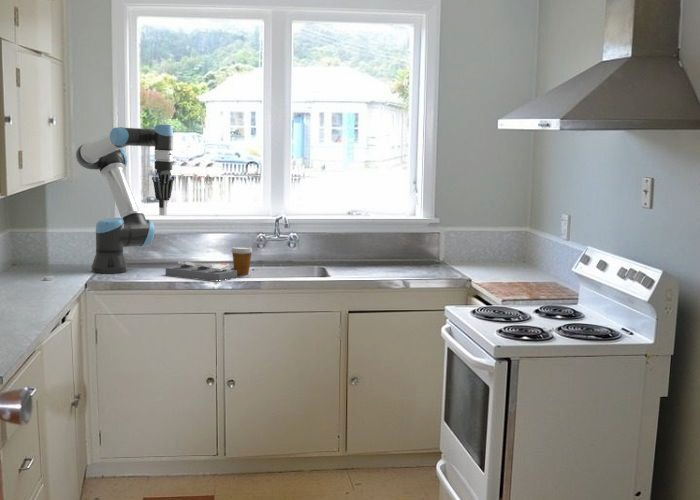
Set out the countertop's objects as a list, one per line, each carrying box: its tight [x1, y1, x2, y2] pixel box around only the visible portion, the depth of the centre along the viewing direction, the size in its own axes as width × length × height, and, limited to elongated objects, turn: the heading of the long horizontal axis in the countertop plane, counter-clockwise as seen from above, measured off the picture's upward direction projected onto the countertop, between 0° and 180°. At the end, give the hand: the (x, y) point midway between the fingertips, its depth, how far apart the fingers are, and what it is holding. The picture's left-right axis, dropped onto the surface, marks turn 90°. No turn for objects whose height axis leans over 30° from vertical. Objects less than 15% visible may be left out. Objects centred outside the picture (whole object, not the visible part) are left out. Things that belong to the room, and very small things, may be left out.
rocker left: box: [177, 260, 196, 266], centre depth 376 cm, size 4×7×1 cm, turn 155°
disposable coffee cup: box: [230, 246, 253, 276], centre depth 382 cm, size 10×10×12 cm
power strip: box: [164, 264, 238, 282], centre depth 371 cm, size 28×14×4 cm, turn 65°
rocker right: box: [212, 262, 230, 271], centre depth 368 cm, size 4×7×1 cm, turn 155°
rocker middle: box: [194, 262, 213, 268], centre depth 372 cm, size 4×7×1 cm, turn 155°
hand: (162, 215), depth 367 cm, fingers closed
